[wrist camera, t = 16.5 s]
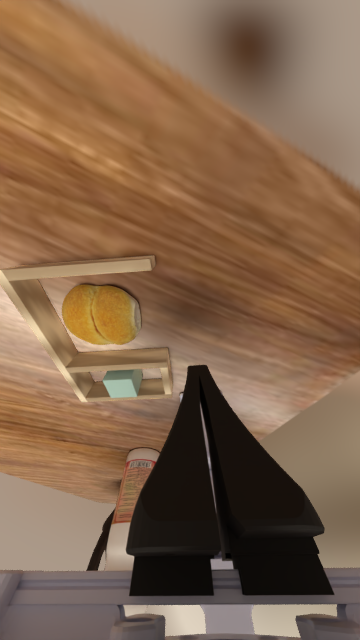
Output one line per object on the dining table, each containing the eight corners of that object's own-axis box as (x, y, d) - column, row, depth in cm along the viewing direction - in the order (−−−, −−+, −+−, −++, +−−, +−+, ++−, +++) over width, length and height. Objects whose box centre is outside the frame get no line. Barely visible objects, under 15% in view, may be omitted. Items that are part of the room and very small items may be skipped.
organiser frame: (172, 381, 26) (172, 397, 24) (91, 385, 27) (81, 402, 24) (154, 255, 16) (149, 258, 13) (20, 265, 16) (-10, 270, 14)
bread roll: (62, 281, 17) (34, 292, 14) (138, 283, 18) (127, 295, 14) (83, 337, 22) (65, 356, 18) (144, 338, 22) (137, 358, 18)
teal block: (142, 374, 26) (137, 396, 22) (120, 376, 26) (111, 397, 22) (138, 358, 24) (131, 379, 20) (113, 359, 24) (102, 380, 20)
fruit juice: (142, 443, 39) (81, 792, 14) (167, 454, 42) (152, 749, 18) (121, 453, 42) (42, 753, 18) (146, 462, 45) (109, 723, 21)
